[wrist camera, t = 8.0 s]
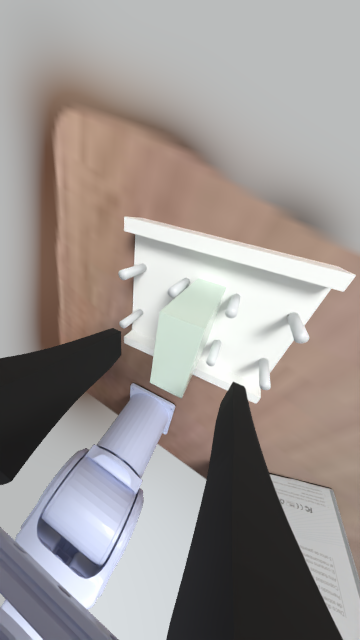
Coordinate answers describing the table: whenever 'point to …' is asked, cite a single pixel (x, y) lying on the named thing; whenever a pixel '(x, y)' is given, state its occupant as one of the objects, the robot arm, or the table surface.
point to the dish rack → (227, 298)
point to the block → (184, 334)
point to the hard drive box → (324, 548)
